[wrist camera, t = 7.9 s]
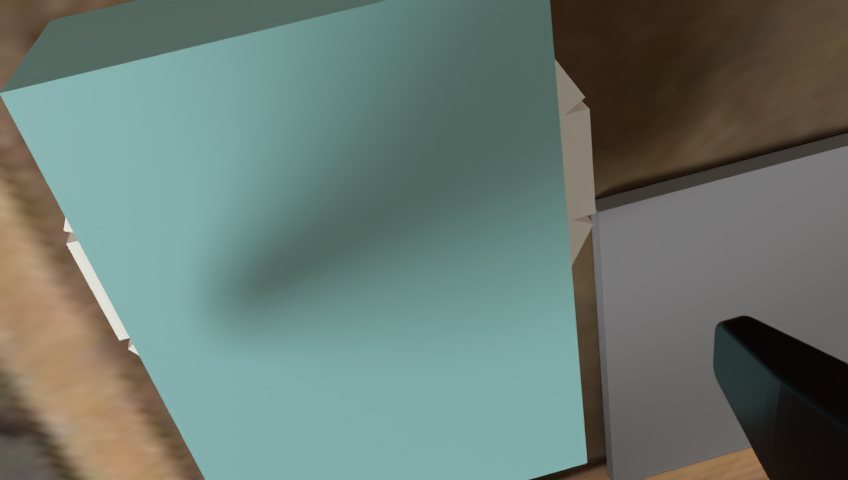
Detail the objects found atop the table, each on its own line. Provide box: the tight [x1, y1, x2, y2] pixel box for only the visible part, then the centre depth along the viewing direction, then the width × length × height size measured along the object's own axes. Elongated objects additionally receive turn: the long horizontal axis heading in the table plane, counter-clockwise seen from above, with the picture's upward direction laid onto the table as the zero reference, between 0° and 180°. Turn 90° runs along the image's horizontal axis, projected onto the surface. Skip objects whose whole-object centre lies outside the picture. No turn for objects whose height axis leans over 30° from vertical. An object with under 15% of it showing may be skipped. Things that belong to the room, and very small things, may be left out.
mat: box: [591, 133, 848, 480], centre depth 25 cm, size 12×9×1 cm
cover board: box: [0, 0, 587, 480], centre depth 14 cm, size 10×7×3 cm
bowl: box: [64, 59, 596, 355], centre depth 17 cm, size 10×10×4 cm
